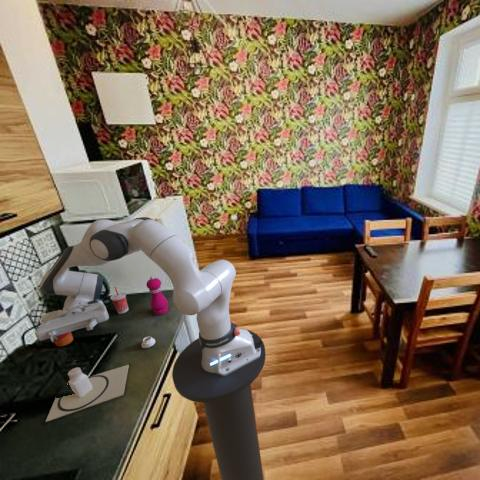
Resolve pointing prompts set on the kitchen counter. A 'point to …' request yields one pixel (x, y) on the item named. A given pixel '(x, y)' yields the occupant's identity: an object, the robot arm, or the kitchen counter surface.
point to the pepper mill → (157, 296)
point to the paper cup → (63, 338)
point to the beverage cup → (120, 302)
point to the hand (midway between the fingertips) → (72, 334)
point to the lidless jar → (148, 342)
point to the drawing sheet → (92, 393)
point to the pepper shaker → (79, 382)
